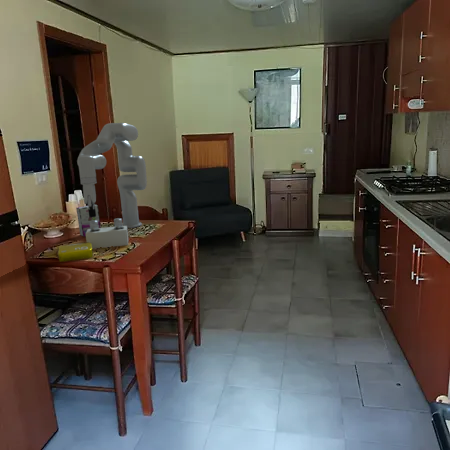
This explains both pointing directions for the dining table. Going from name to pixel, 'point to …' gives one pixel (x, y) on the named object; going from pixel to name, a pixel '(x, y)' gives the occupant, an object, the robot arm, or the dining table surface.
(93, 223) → the pin outer
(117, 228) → the pin inner
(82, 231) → the candy bar box
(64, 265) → the dining table surface
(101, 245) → the pin block
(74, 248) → the element tile
